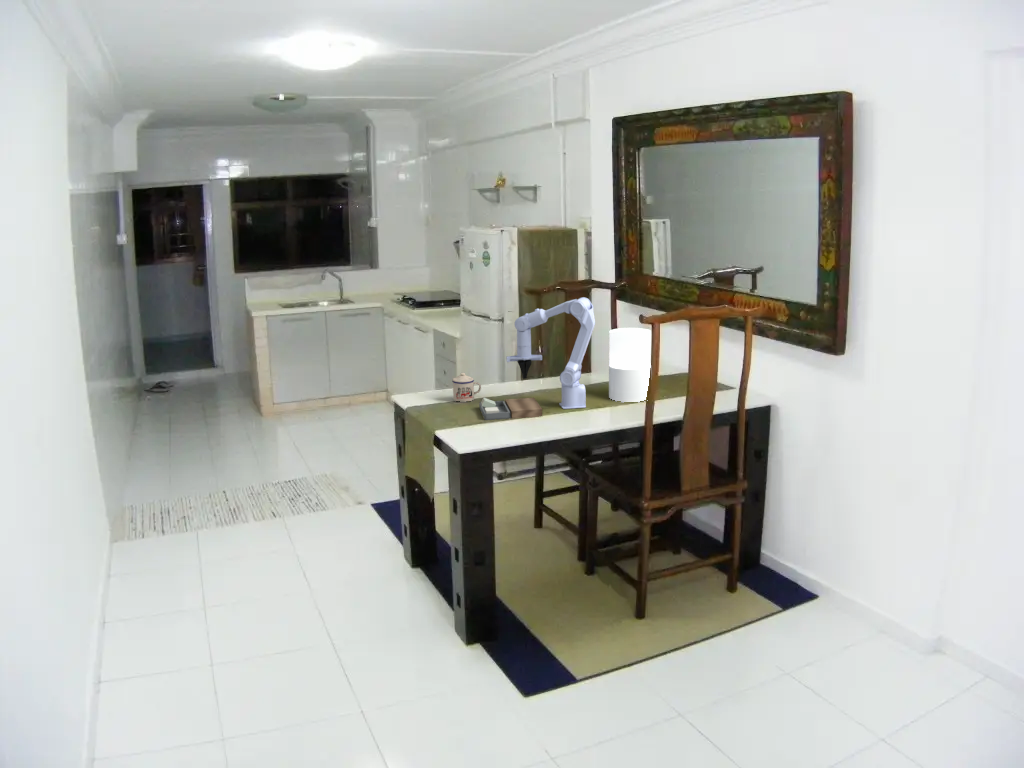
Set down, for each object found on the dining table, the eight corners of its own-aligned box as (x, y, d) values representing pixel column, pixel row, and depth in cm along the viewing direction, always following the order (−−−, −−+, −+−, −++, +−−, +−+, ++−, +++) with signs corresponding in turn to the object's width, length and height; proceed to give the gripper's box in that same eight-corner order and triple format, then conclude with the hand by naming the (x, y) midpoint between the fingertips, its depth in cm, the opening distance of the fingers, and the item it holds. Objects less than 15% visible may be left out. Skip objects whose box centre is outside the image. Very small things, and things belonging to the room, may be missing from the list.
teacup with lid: (454, 403, 349) (453, 376, 346) (451, 398, 358) (450, 371, 355) (483, 401, 351) (482, 374, 348) (479, 396, 360) (478, 369, 357)
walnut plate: (534, 404, 344) (534, 397, 344) (542, 416, 327) (542, 409, 326) (505, 406, 343) (504, 399, 342) (511, 418, 325) (511, 411, 325)
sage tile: (483, 397, 339) (481, 402, 339) (484, 400, 334) (482, 405, 334) (494, 401, 340) (492, 407, 340) (495, 404, 335) (493, 410, 335)
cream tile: (484, 407, 330) (484, 413, 331) (486, 411, 325) (486, 417, 326) (497, 407, 331) (497, 413, 332) (498, 410, 326) (499, 416, 327)
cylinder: (605, 393, 360) (605, 328, 354) (645, 391, 361) (646, 327, 355) (612, 403, 344) (613, 336, 337) (654, 402, 345) (655, 334, 338)
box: (503, 406, 343) (503, 400, 342) (510, 418, 325) (510, 412, 325) (479, 408, 341) (479, 402, 341) (484, 420, 324) (484, 414, 323)
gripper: (507, 348, 338) (508, 381, 341) (543, 346, 340) (543, 379, 343) (505, 344, 344) (506, 377, 348) (540, 343, 346) (540, 375, 350)
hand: (524, 378), depth 346 cm, fingers closed
